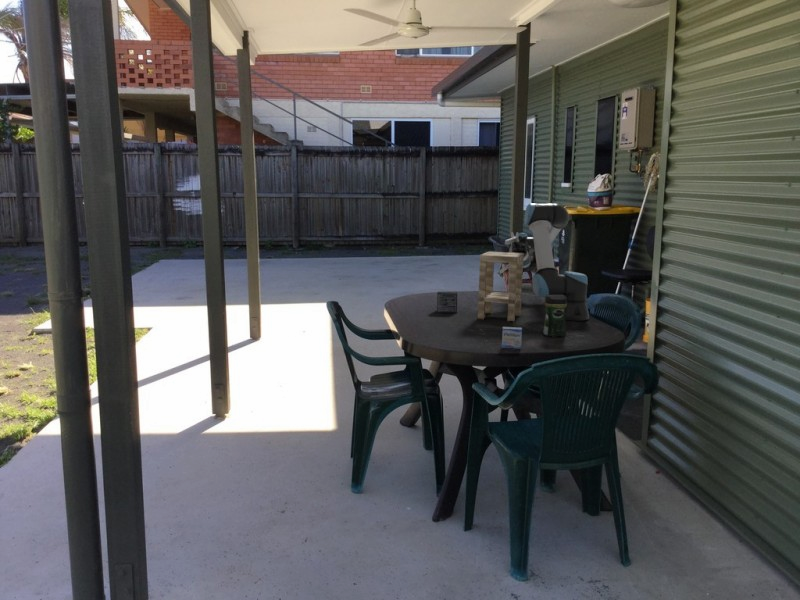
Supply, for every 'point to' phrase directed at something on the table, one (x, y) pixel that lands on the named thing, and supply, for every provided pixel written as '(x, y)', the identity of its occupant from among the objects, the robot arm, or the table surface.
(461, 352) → the table surface
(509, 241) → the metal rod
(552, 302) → the coffee jar
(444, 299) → the small box
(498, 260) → the shelf stand
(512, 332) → the medicine box
